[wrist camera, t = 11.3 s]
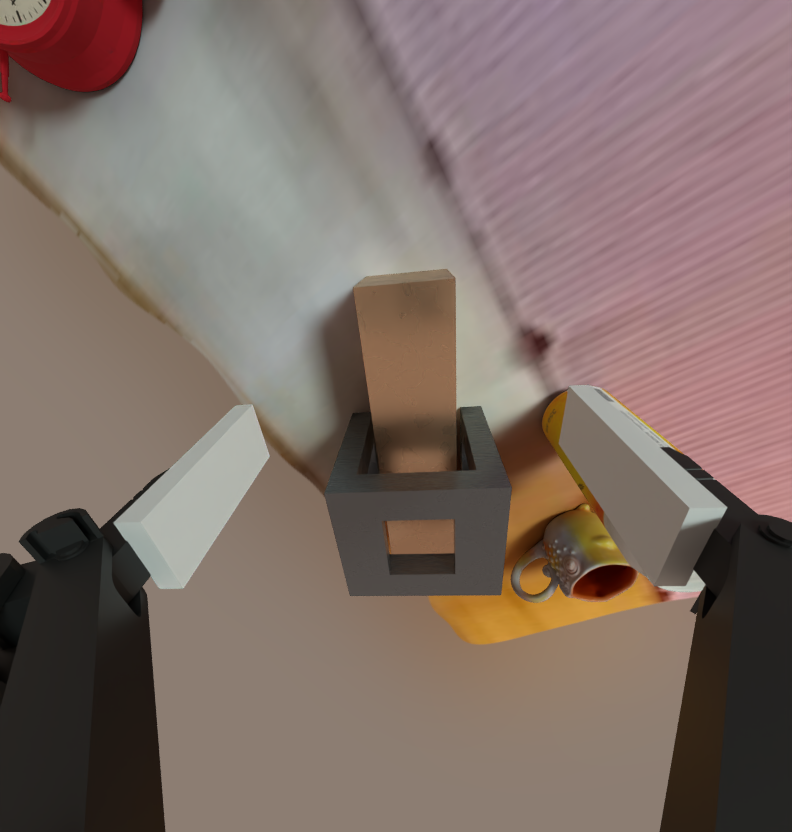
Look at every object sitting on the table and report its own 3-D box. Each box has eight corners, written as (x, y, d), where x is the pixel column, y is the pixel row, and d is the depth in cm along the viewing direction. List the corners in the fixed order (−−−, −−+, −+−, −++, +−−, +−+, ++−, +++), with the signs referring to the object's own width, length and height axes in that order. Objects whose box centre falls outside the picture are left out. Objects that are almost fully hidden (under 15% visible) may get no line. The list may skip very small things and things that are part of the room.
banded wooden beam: (365, 276, 25) (351, 288, 19) (447, 268, 24) (456, 278, 19) (395, 512, 36) (391, 560, 31) (451, 510, 36) (457, 559, 30)
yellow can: (540, 447, 31) (630, 602, 18) (537, 389, 28) (643, 522, 15) (609, 436, 30) (757, 591, 17) (613, 375, 27) (795, 504, 14)
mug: (593, 494, 34) (630, 548, 28) (618, 535, 36) (656, 592, 30) (488, 539, 38) (501, 594, 32) (516, 573, 40) (533, 630, 34)
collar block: (352, 413, 30) (324, 493, 21) (481, 406, 29) (511, 487, 20) (367, 499, 35) (350, 595, 26) (477, 496, 34) (501, 595, 25)
